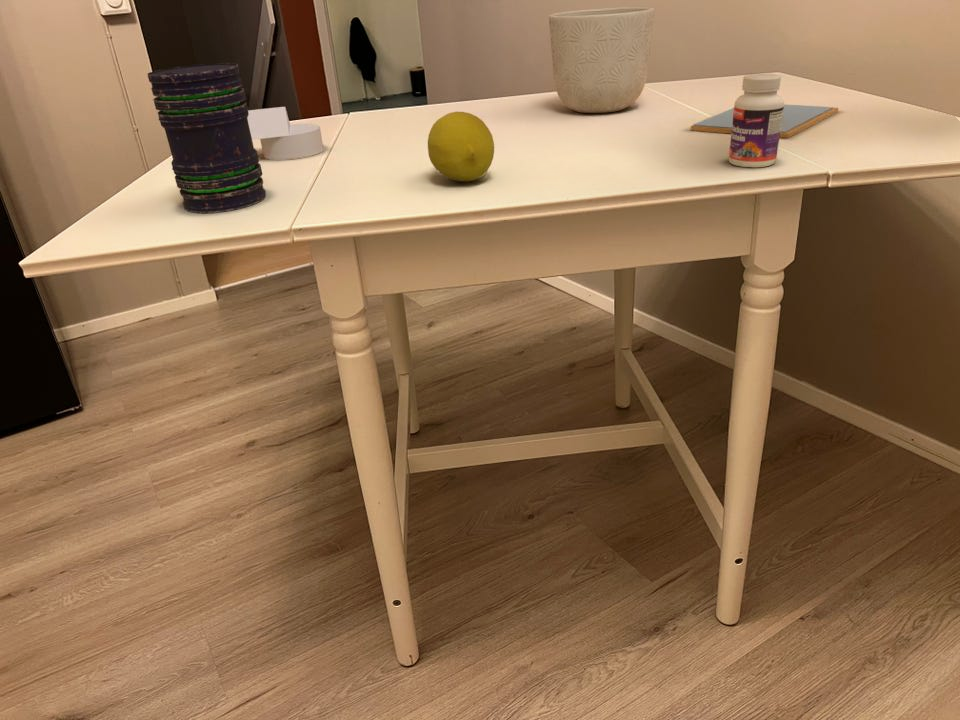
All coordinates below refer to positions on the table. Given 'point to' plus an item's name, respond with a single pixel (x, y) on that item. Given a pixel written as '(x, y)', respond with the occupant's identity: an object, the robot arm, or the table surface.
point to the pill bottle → (757, 122)
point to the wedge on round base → (283, 135)
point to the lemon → (460, 146)
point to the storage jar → (208, 136)
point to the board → (791, 124)
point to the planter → (601, 57)
